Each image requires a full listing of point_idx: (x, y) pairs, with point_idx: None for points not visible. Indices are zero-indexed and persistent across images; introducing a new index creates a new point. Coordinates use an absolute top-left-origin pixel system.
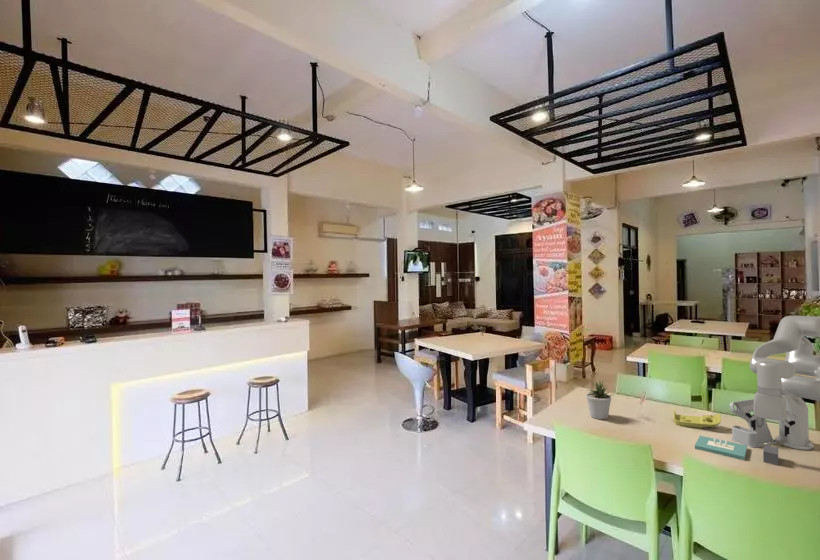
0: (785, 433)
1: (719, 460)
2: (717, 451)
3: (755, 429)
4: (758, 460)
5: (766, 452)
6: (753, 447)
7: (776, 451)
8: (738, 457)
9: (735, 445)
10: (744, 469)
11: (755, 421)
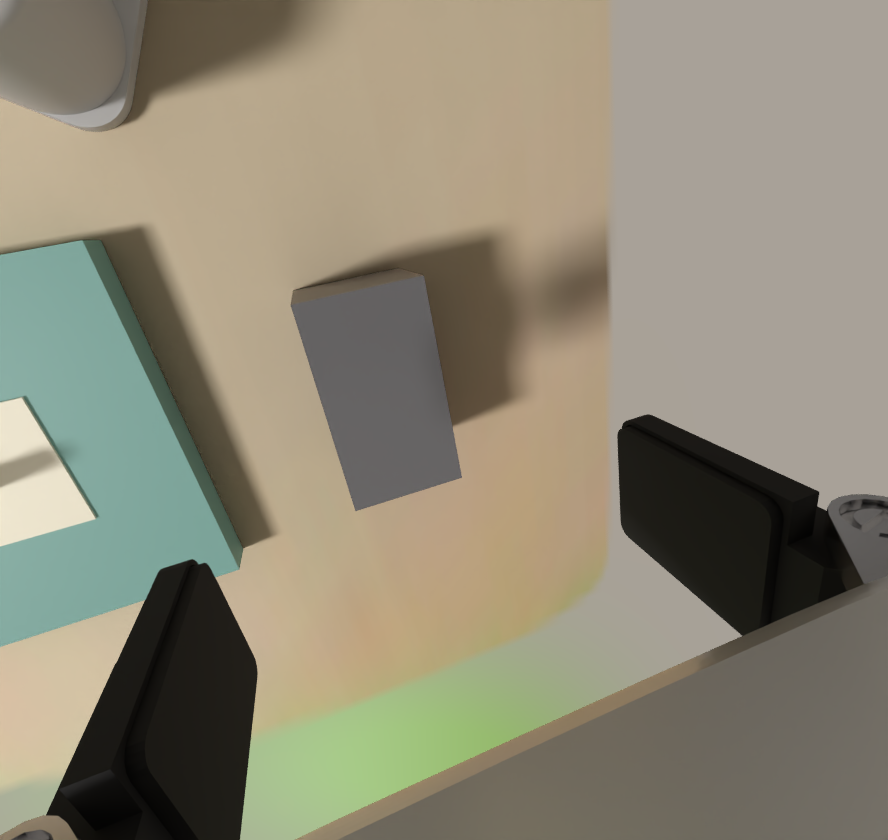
0: (665, 560)
1: None
2: (21, 633)
3: (243, 642)
4: (308, 459)
5: (378, 500)
6: (116, 121)
7: (436, 409)
8: None
9: (5, 355)
10: (312, 674)
11: (199, 803)
